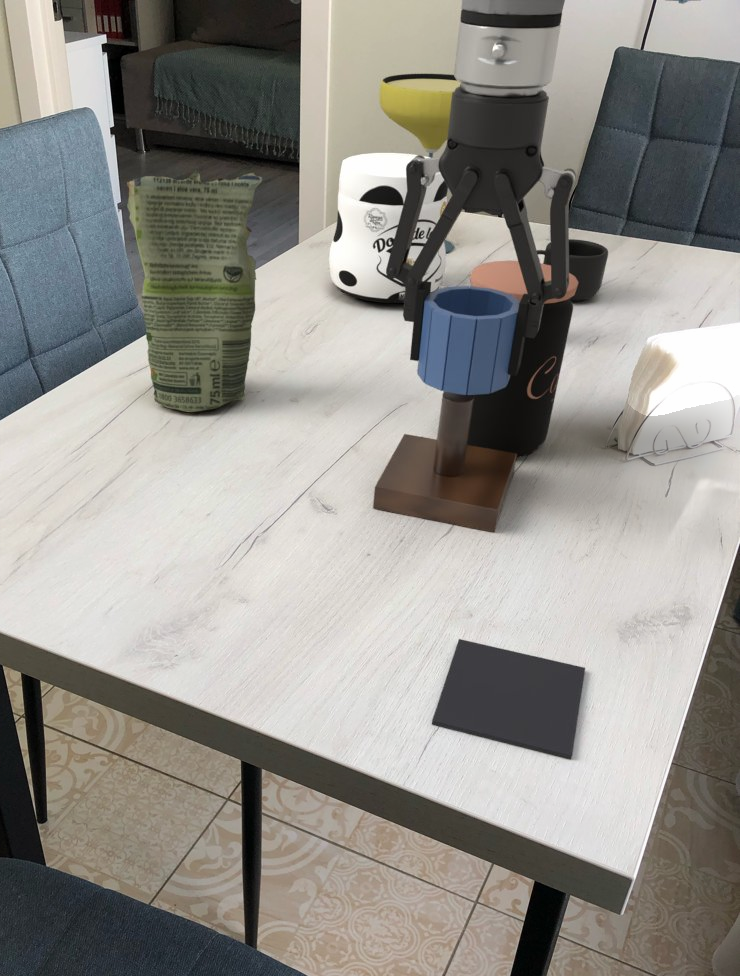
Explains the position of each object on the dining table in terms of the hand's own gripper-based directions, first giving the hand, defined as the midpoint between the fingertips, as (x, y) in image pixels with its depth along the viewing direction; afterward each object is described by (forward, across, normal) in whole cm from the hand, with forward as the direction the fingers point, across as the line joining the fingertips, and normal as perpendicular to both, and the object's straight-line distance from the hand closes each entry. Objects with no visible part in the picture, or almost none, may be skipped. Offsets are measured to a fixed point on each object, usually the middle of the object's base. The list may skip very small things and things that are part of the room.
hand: (465, 361), depth 87 cm
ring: (+1, 0, 0) cm, 1 cm away
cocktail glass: (+14, -21, +80) cm, 84 cm away
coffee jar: (+14, +3, +13) cm, 20 cm away
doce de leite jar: (+14, -21, +55) cm, 61 cm away
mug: (+14, +4, +64) cm, 66 cm away
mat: (+14, +11, -29) cm, 34 cm away
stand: (+14, 0, 0) cm, 14 cm away
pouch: (+14, -32, +11) cm, 37 cm away
